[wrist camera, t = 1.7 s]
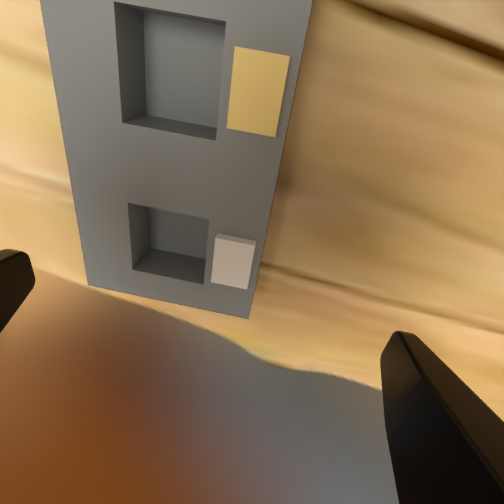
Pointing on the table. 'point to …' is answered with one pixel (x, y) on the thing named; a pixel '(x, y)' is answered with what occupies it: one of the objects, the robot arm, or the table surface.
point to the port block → (175, 138)
